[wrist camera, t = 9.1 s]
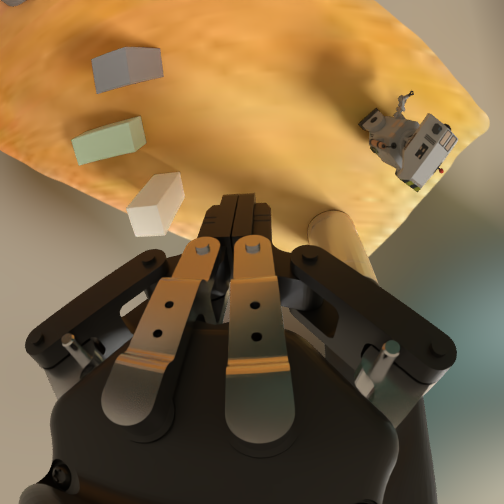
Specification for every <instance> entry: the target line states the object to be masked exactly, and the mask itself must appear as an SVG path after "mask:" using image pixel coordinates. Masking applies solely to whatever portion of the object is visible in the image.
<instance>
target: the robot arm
mask: <svg viewBox="0 0 504 504" xmlns="http://www.w3.org/2000/svg"><path fill="white" fill-rule="evenodd" d="M307 235H308V240H309V245H302V246H299V247H297V248H295V249H294V250H293V251H292V252H291V253H289V252H284V251H281V250H279V249H277V248H276V247H275V246H274V245H273V244H272V229H271V208H270V207H269V206H268V205H267V203H256V199H255V193H251V194H232V195H223V197H222V200H221V204H220V205H214V206H212V207H211V208H210V209H208V210H207V211H206V214H205V217H204V220H203V224H202V226H201V228H200V231H199V234H198V237H197V239H194V240H192V241H191V242H189V243H188V245H187V246H186V248H185V250H184V252H183V254H180V255H177V256H173V257H169V258H166V255H165V253H164V252H163V251H162V250H158V249H152V250H147V251H145V252H143V253H141V254H139V255H138V256H136V257H135V258H133V259H132V260H130V261H129V262H127V263H126V264H124V265H123V266H121V267H120V268H118V269H117V270H115V271H114V272H112V273H111V274H109V275H108V276H106V277H105V278H103V279H102V280H100V281H99V282H97V283H96V284H95V285H93V286H92V287H90V288H89V289H87V290H86V291H85V292H83V293H82V294H80V295H79V296H78V297H76V298H75V299H73V300H72V301H71V302H69V303H68V304H67V305H65V306H64V307H62V308H61V309H60V310H58V311H57V312H56V313H54V314H53V315H52V316H50V317H49V318H48V319H46V320H45V321H44V322H42V323H41V324H40V325H39V326H37V327H36V328H35V329H33V330H32V331H31V333H30V334H29V335H28V337H27V339H26V343H25V348H26V351H27V353H28V354H29V355H30V356H31V357H32V358H33V359H34V360H35V361H36V362H37V363H38V364H39V366H40V367H41V368H42V369H43V370H44V371H45V372H46V375H47V377H48V380H49V382H50V384H51V386H52V389H53V391H54V393H55V395H56V397H57V399H58V401H57V402H56V404H55V406H54V408H53V410H52V414H51V419H50V428H51V436H52V445H53V460H52V465H51V468H50V470H49V472H48V474H47V475H46V476H45V477H44V478H43V479H42V480H40V481H39V482H37V483H36V484H33V485H31V486H29V487H27V488H26V489H25V490H24V491H23V492H22V494H21V496H20V500H19V504H437V493H436V484H435V476H434V470H433V462H432V455H431V449H430V443H429V436H428V428H427V421H426V414H425V406H424V400H423V395H424V394H426V393H427V392H428V391H429V390H430V388H432V387H433V386H434V384H435V383H436V382H437V381H438V380H439V379H440V378H441V377H442V376H443V375H444V374H445V372H447V370H448V369H449V368H450V367H451V366H452V365H453V364H454V362H455V360H456V356H457V351H456V346H455V344H454V342H453V341H452V339H450V337H449V336H448V335H446V334H445V333H444V332H442V331H441V330H440V329H438V328H437V327H436V326H434V325H433V324H432V323H430V322H429V321H427V320H426V319H424V318H423V317H422V316H420V315H419V314H418V313H416V312H415V311H414V310H412V309H411V308H409V307H408V306H407V305H405V304H404V303H402V302H401V301H400V300H398V299H397V298H395V297H394V296H392V295H391V294H390V293H388V292H387V291H385V290H384V289H382V288H381V287H380V286H379V284H378V282H377V279H376V276H375V274H374V272H373V269H372V266H371V264H370V261H369V259H368V256H367V254H366V251H365V249H364V247H363V244H362V242H361V240H360V237H359V235H358V232H357V230H356V228H355V226H354V224H353V221H352V220H351V218H350V217H349V216H348V215H347V214H345V213H343V212H340V211H326V212H323V213H321V214H319V215H318V216H316V217H315V218H314V219H313V220H312V221H311V223H310V225H309V227H308V233H307ZM230 282H231V284H230V310H229V322H228V323H223V319H224V315H225V311H226V307H227V303H228V299H229V291H228V288H229V283H230ZM142 291H144V292H145V294H146V296H147V298H148V299H147V300H145V301H144V302H142V303H141V304H140V305H138V306H137V307H136V308H134V309H133V310H132V311H130V312H129V313H128V314H126V315H125V316H123V317H121V316H120V310H121V308H122V306H123V305H125V304H126V303H127V302H128V301H130V300H131V299H133V298H134V297H136V296H137V295H138V294H140V293H141V292H142ZM281 306H284V307H288V308H289V310H290V312H291V314H292V315H293V316H294V317H295V318H296V319H297V320H299V321H300V322H301V323H302V324H303V325H304V326H305V327H306V328H307V329H309V330H310V331H311V332H312V333H313V334H314V335H315V336H316V337H318V338H319V339H320V340H321V341H322V342H323V343H324V344H325V358H324V357H323V356H322V355H321V354H320V353H319V352H318V351H317V350H316V349H315V348H314V347H313V346H312V345H311V344H310V343H309V342H308V341H307V340H305V339H304V338H303V337H301V336H299V335H298V334H296V333H294V332H292V331H289V330H286V329H284V324H283V317H282V310H281Z"/></svg>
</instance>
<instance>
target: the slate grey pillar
mask: <svg viewBox="0 0 504 504" xmlns="http://www.w3.org/2000/svg"><path fill="white" fill-rule="evenodd" d="M91 60H92V68H93V74H94V81H95V87H96V92H97V94H99V93H102V92H106V91H109V90H112V89H116V88H120V87H124V86H127V85H131V84H136V83H139V82H143V81H147V80H151V79H156V78H160V77H164V76H163V68H162V60H161V52H160V49H158V48H143V47H123V48H120V49H117V50H115V51H112V52H109V53H106V54H104V55H101V56H99V57H96V58H94V59H91Z"/></svg>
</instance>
